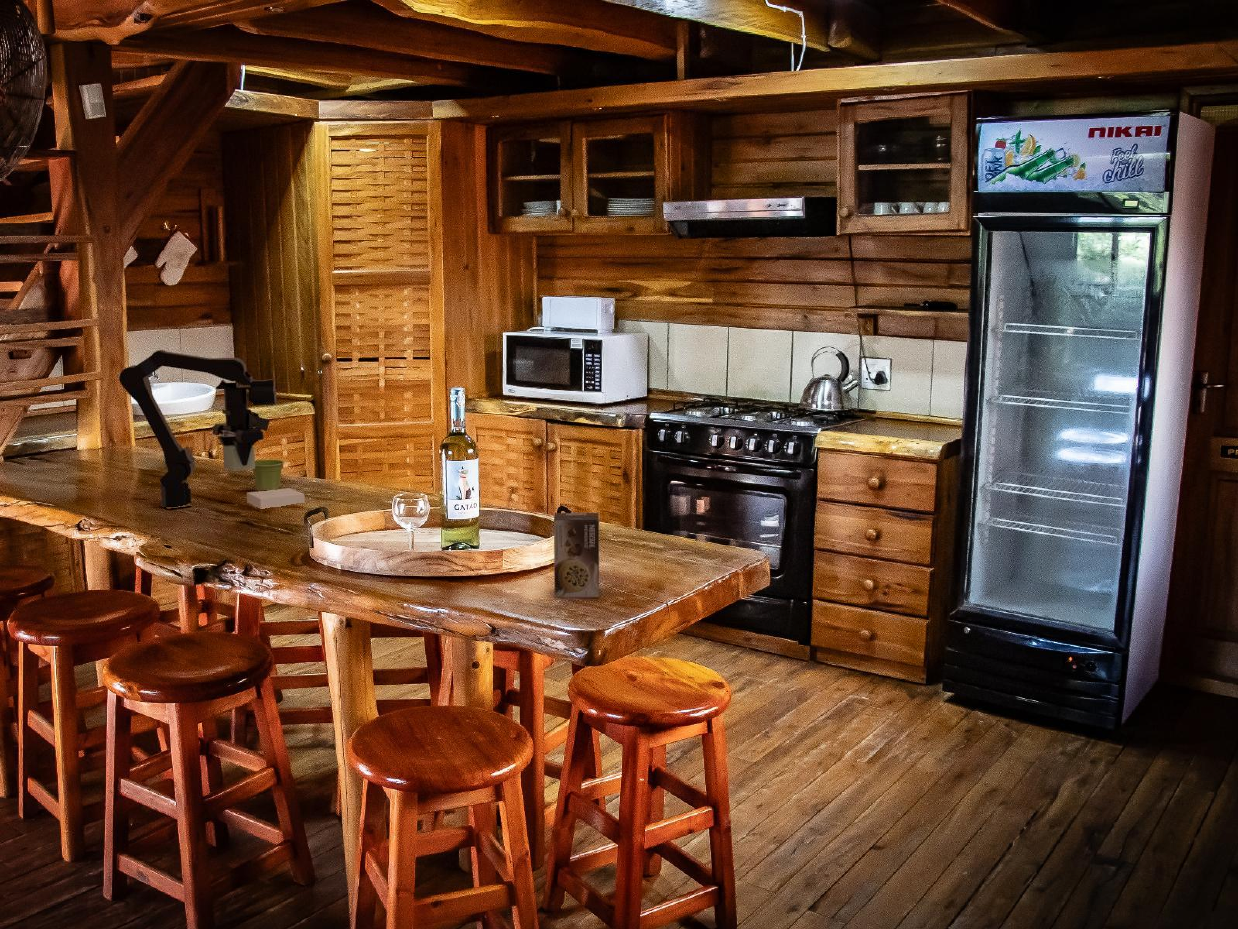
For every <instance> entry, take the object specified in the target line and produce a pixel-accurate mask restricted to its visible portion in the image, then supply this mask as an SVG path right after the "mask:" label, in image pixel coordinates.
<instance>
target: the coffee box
mask: <svg viewBox="0 0 1238 929" xmlns="http://www.w3.org/2000/svg"><path fill="white" fill-rule="evenodd" d="M553 551H554V552H553V554H554V555H553V556H554V558H553V559H554V560H553V562H554V563H553V564H554V565H553V566H554V568H553V570H554V571H553V572H554V573H553V577H554V579H553V580H554V583H553V591H554V593H553V594H554V596H553V597H554V598H557V599H558V598H559V599H561V598H563V599H564V598H565V599H566V598H569V599H570V598H600V516H599V512H555V513H554V517H553Z"/></svg>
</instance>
